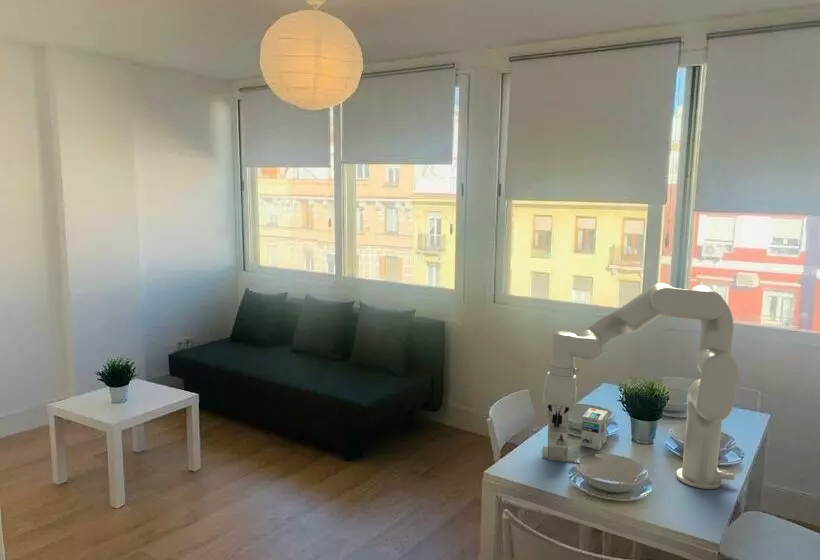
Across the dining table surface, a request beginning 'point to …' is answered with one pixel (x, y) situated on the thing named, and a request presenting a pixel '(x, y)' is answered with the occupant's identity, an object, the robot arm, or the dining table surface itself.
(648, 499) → the dining table surface
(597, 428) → the light bulb box
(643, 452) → the dining table surface
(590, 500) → the dining table surface
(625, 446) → the dining table surface
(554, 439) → the coffee box
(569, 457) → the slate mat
